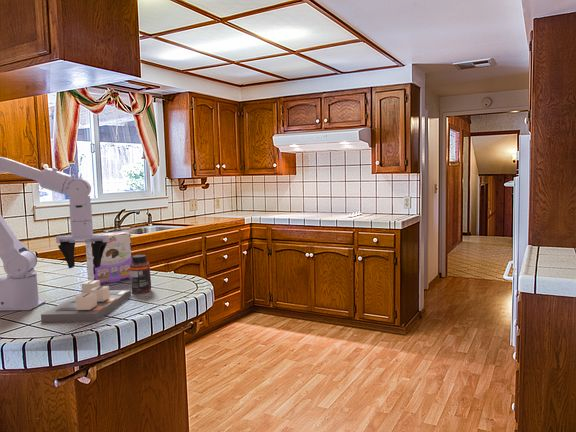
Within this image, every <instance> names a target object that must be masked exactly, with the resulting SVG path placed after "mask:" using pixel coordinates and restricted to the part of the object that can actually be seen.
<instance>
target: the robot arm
mask: <svg viewBox="0 0 576 432" xmlns="http://www.w3.org/2000/svg"><path fill="white" fill-rule="evenodd" d="M58 170H59V168H56V167H52V168H49V167H47V168H44V169H42V170H40V169H38V168H35V167H32V166H29V165H27V164H24V163H21V162H19V161H17V160H13V159H10V158H7V157H3V156H0V174H1V173H9V174H12V175H16V176H19V177H23V178H26V179H29V180H33V181H36V182H37V183H38V185H39V186H40V188H43V189H44V190H45V189H46V190H48V191H51V192H55V193H58V194H61V195H67V196H68V197H69V198H68V199H69V205H68V206H69V218H70V219H69V220H70V235H57V236H55V241H56V242H55V243H56V244H59V245H58V246H57V247H58V249H59V250H60V252H61V253H62V255H63V257H64V259H65V261H66V263H67V267H68V269H72V268H75V264H76V263H75V249H76V248H75V247H76V244H77V243H80V244H81V243H85V242H95V243H93V244H91V247H92V250H93V255H94V266H95V268H98V267H100V264H101V258H102V255H103V252H104V249H105V247H106V245H107V242H108V241H109V235H100V234H94V230H93V211H92V204H91V202H92V201H91V196H90V194H91V191H92V186H91V184H90V183H89V181H88V180H86V179H84V178H82V177H79V178H78V177H77V178H76V175H75V174H73V173H72V174H67V173H65V172H61V171H60V170H59V171H58ZM0 260H1V261H2V264H3V269H4V272H5V273H6V275H4V276H1V277H0V311H2V312H3V311H31V310H33V309H34V308H36V307H38V306H40V305H43V304H45V303H46V300H39V299H40V298H39V289H38V287H39V285H38V275H37V271H36V270H35V267H36V266H37V263H38V257H37V255H36V253H35V252H34V251H32V250H30V249H29V248H27V246H26V245H25V244H24V243H23V242H21V241H20V240H19V239H18V237H17V236H16V235H15V233H14V232H13V230H12V228H11V227H10V226H9V225H8V223H7V221H6V220H5V219H4V217H3V216H2V214H1V213H0Z"/></svg>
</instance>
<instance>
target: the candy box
mask: <svg viewBox="0 0 576 432" xmlns="http://www.w3.org/2000/svg"><path fill="white" fill-rule="evenodd" d="M99 235H109V241H108V242H107V245H106V247H105V249H104V252H103V255H102V258H101V264H100V267H98V268H95V266H94V255H93V250H92V247H91V244H93V243H95V242H84V243H85V245H84V246H85V257H86V271H87V281H88V280H100V286H101V285H102V286H103V285H106V284H111V283H115V282H116V283H117V282H121V281H122V282H123V281H125V280H131V277H130V264H131V263H132V262H133V258H132V257H133V255H132V251H133V250H132V241H131V239H132V236H131V232H128V231H127V232H126V231H119V232H109V233H103V234H99Z"/></svg>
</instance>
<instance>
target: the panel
mask: <svg viewBox="0 0 576 432" xmlns="http://www.w3.org/2000/svg"><path fill="white" fill-rule="evenodd" d="M109 293H110V298H108V299H107V300H105V301H104V302H97V306H95V307H94V308H92V309H90V310H76V297H78V296H79V295H81V294H82V292H80V293H78V294H76V295H75V296H73V297H71V298H68V299H67V300H65V301H64V302H61V303H59V304H57V305H56V306H54V307H52V308H50V309H47V311H45V312H43V313H41V314H40V319H41V323H74V322H75V323H77V322H79V323H81V322H83V323H84V322H90V323H91V322H94V323H95V322H98V321H100V320H101V319H102V318H104V317H105V316H106V315H108V314H109V313H110V312H112V311H113V310H114V309H116V308H117V307H119V306H120V305H122V304H123V303H124V302H126V301H127V300H128V299H130V298H131V297H132V289H120V290H119V289H116V290H115V289H113V290H112V289H111V290H110V289H109Z"/></svg>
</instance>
